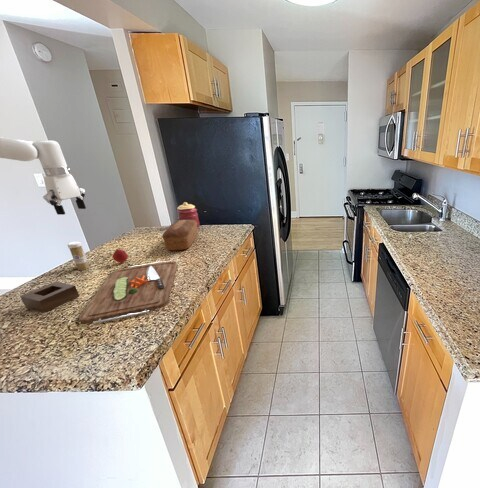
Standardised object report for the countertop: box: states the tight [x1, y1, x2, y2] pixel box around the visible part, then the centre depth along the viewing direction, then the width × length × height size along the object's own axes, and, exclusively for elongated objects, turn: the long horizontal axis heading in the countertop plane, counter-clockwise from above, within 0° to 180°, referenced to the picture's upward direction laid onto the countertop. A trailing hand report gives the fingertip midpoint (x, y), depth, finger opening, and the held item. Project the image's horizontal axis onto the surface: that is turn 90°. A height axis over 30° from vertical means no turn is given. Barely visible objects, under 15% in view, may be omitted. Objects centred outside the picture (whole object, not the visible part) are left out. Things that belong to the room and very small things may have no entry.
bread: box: [162, 219, 199, 251], centre depth 154 cm, size 14×28×12 cm, turn 12°
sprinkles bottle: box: [66, 240, 90, 271], centre depth 123 cm, size 5×5×14 cm
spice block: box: [19, 281, 80, 313], centre depth 99 cm, size 11×11×5 cm
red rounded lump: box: [112, 248, 129, 264], centre depth 130 cm, size 6×6×8 cm
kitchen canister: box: [176, 201, 201, 228], centre depth 183 cm, size 13×13×18 cm
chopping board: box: [78, 260, 178, 325], centre depth 109 cm, size 45×27×3 cm, turn 22°
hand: (72, 211), depth 116 cm, fingers open, 9 cm apart
